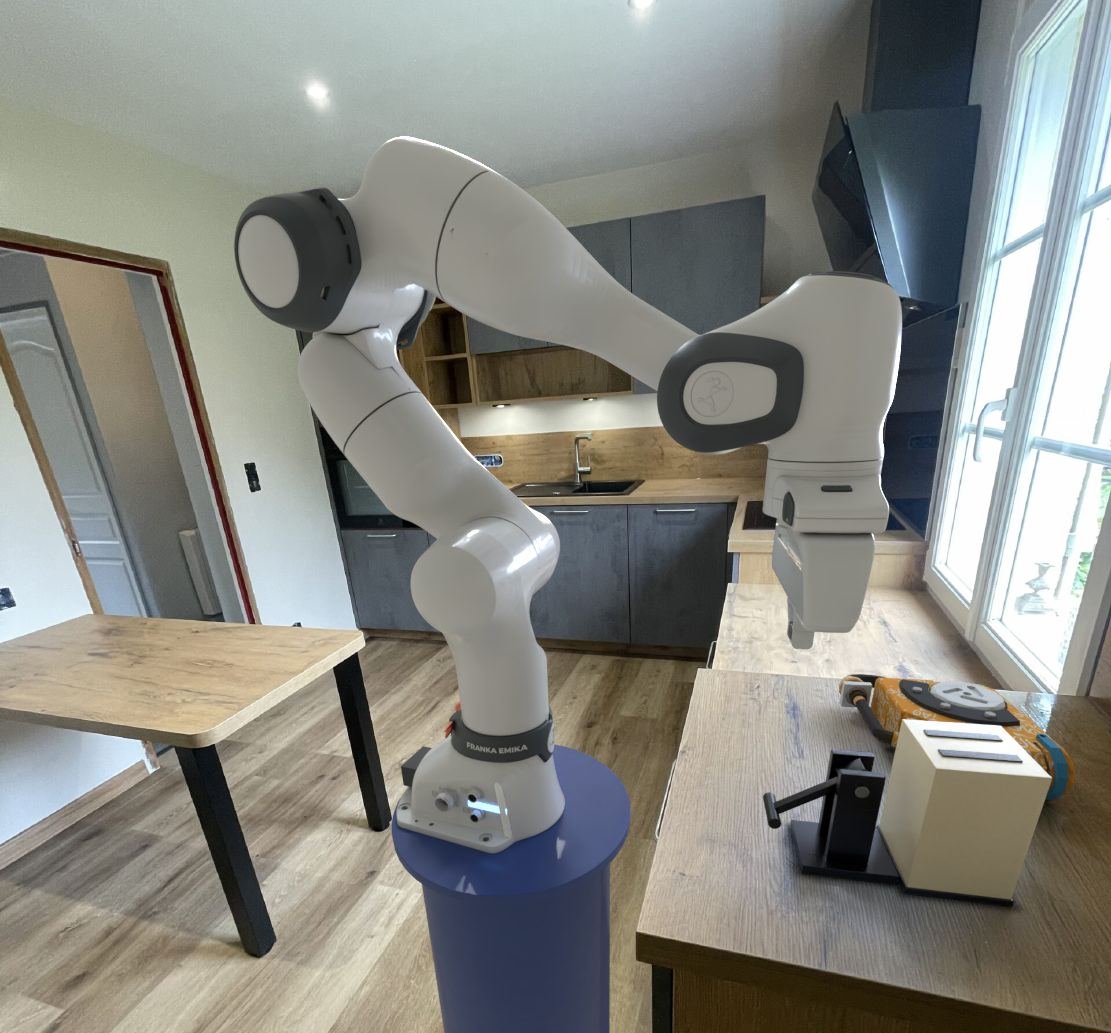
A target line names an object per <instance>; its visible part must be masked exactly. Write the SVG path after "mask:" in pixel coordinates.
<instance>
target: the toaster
mask: <svg viewBox="0 0 1111 1033" xmlns="http://www.w3.org/2000/svg"><path fill="white" fill-rule="evenodd" d="M1051 780H1052V777H1051V776H1050V775H1049V774H1048V773H1047V772H1046V771H1045V770H1044V769H1043V768H1042V767H1041V766H1040V765H1039V764H1038V763H1037V762H1036V761H1035V760H1034V759H1033V758H1032V757H1031V756H1030V755H1029V754H1028V753H1027V752H1026V751H1025V750H1024V749H1023V748H1022V747H1021V746H1020V745H1019V744H1018V743H1017V742H1016V741H1015V740H1014V739H1013V738H1012V737H1011V736H1010V735H1009V734H1008V733H1007V732H1006V731H1005V730H1004V729H1003V728H1002V727H1001V726H997V725H982V724H967V723H952V722H938V721H923V720H908V719H902V723H901V727H900V732H899V737H898V741H897V746H896V749H895V751H894V755H893V759H892V764H891V770H890V774H889V779H888V783H887V788H886V793H885V798H884V802H883V807H882V812H881V815H880V821H879V824H876V827H875V829H878V831H879V833H880V835H881V838H882V840H883V842H884V844H885V846H886V849H887V851H888V853H889V855H890V857H891V860H892V862H893V864H894V866H895V868H896V871H897V873H898V875H899V880H898V883H899V885H900V887H901V889H902V891H903V893H904V894H906V895H913V896H921V897H930V898H938V899H946V900H947V899H948V900H953V901H954V900H955V901H962V902H970V903H978V904H986V905H995V906H1003V907H1013V906H1014V903H1015V900H1014V899H1013V896H1014V893H1015V891H1016V890H1015V889H1016V887H1017V884H1018V882H1019V879H1020V875H1021V872H1022V869H1023V866H1024V863H1025V860H1026V857H1027V854H1028V851H1029V848H1030V845H1031V843H1032V839H1033V837H1034V833H1035V830H1036V827H1037V824H1038V822H1039V818H1040V816H1041V813H1042V809H1043V806H1044V805H1045V801H1046V800H1045V798H1046V795H1047V792H1048V789H1049V786H1050V783H1051Z"/></svg>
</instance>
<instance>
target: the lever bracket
mask: <svg viewBox="0 0 1111 1033" xmlns="http://www.w3.org/2000/svg"><path fill="white" fill-rule="evenodd" d="M858 758H860V760H861V761H862V763H863V765H864V766H865V768H866V769H867V771H857V770H845V769H839V774H838V773H837V771H836V768H837V767H839V766H842V765H844V764H846V763H849V762H851V761H854V760H856V759H858ZM875 759H876V758H875V755H874V753H873V752H871V751H857V750H844V749H833V748H832V749H830V753H829V760H828V766H827V773H826V778H825V781H827V780H830V779H832V778H835V777H837V776H838V780H837V786H836V791H835V792H833V793H830V794H828V795H825V796H823V797H822V801H821V806H820V814H819V818H818V819H819V820H818V822H817V821H806V820H798V819H797V820H796V819H791V820H790V827H789V828H790V832H791V836H792V841H793V845H794V848H795V853H796V856H797V860H798V865H799V868H800V873H801V874H803V875H811V876H820V877H828V878H835V879H837V878H838V879H844V880H852V881H861V882H870V883H878V884H887V885H895V886H898V883H899V875H898V873H897V871H896V868H895V866H894V864H893V862H892V860H891V857H890V855H889V853H888V851H887V849H886V846H885V844H884V842H883V840H882V838H881V835H880V833H879V831H878V829H876V828H877V822H878V818H879V813H880V809H881V808H880V807H881V803H882V798H883V793H884V788H885V784H886V779H887V777H886V776H885V774H884V772H880V771H873V767H874V763H875Z"/></svg>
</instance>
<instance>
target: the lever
mask: <svg viewBox="0 0 1111 1033" xmlns="http://www.w3.org/2000/svg"><path fill="white" fill-rule="evenodd" d="M839 769H845V770H857V771H867V769H866V768H865V766H864V765H863V763H862V761H861V760H860V758H858V759H856V760H854V761H851V762H849V763H846V764H844V765H842V766H839V767H837V768H836V771H837V773H838V774H839ZM837 780H838V776H837V777H835V778H832V779H830V780H827V781H826V780H825V781H823V782H821V783H818V784H815V785H813V786H811V787H808V788H805V789H802V790H801V791H798V792H796V793H793V794H791V795H789V796H787V797H786V796H785V797H783V798H781V799H779V800H777V799H776V795H775V794H774V793H772V792H768V791H767V792H765V793H763V795H762V800H763V806H764V810H765V815H766V822H767V825H768V827H769V828H771V829H772V830H776V829H780V828H781V826H782V820H781V816H780V814H783V813H786V812H788V811H790V810H793V809H796V808H799V807H800V806H803V805H806V804H808V803H810V802H813V801H815V800H818V799H821V798H823V796H825V795H828V794H830V793H833V792H835V791H836V786H837Z"/></svg>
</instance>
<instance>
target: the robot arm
mask: <svg viewBox="0 0 1111 1033" xmlns="http://www.w3.org/2000/svg"><path fill="white" fill-rule="evenodd" d="M233 240H234V241H233V252H234V261H235V266H236V270H237V275H238V277H239V280H240V283H241V285H242V287H243V289H244V291H245V293H246V295H247V297H248V298H249V300H250V302H251V303H252V304H253V305H254V306H255V308H256V309H257V310H258V311H259V312H260V313H261V314H262V315H264V317H266V318H267V319H269V320H271V321H272V322H275V323H276V324H278V325H280V326H283V327H286V328H289V329H293V330H296V331H300V332H305V333H312V336H311V338H312V339H311V340H309V342H308V343H307V344H306V345H305V346H304V348H303V349H302V351H301V353H300V355H299V358H298V360H297V361H298V362H297V367H296V374H297V380H298V384H299V386H300V388H301V390H302V392H303V394H304V396H305V398H306V400H307V402H308V404H309V405H310V407H311V408H312V410H313V412H314V414H315V415H316V417H317V419H318V421H320V423H321V425H322V426H323V428H324V429H325V431H326V433H327V434H328V435H329V437H330V438H331V440H332V441H333V442H334V444H335V445H336V447H337V448H338V449H339V451H340V452H341V453H342V454H343V455H344V457H345V458H346V459H347V460H348V461H349V463H350V464H351V465H352V467H353V468H354V469H355V470H356V472H357V473H358V474H359V475H360V476H361V477H362V479H363V480H364V481H365V483H366V484H367V485H368V486H369V489H371V490H372V492H373V493H374V494H375V495H376V496H377V497H378V499H379V500H380V501H381V502H382V504H383V505H384V506H385V508H386V509H387V510H388V511H389V512H391V513H392V514H393V515H395V516H396V517H398V518H400V519H402V520H405V521H408V522H411V523H412V524H414V525H416V526H418V527H420V528H421V529H423V530H424V531H426V532H427V533H428V534H430V535H431V536H433V537H434V538H435V539H436V540H434V542H433V543H431V545H430V546H428V547H427V549H426V550H425V551H424V552H423V553H422V554H421V555H420V556H419V558H418V559H417V560H416V562H415V563H414V565H413V568H412V570H411V576H410V593H411V597H412V600H413V604H414V606H415V608H416V610H417V611H418V613H419V615H420V616H421V617H422V619H424V620H425V622H426V623H428V624H429V625H430V627H432V628H433V629H435V630H436V631H438V632H441V633H442V635H443V637H444V639H445V641H446V643H447V646H448V648H449V650H450V653H451V655H452V658H453V659H452V660H453V662H454V666H455V671H456V677H457V685H458V694H459V701H458V703H457V704H456V705H455V712H454V713H453V714H451V715H450V717H449V719H448V724H447V725H446V726H445V728H444V730H443V732H444V734H445V735H444V738H443V739H442V740H441V741H439V742H438V743H436V744H435V745H433V746H432V747H429V746H424V745H423V746H421V747H420V748H419V749H418V750H417V751H416V752H414V754H412V755H411V756H410V758H408V759H407V760H406V761H405V762H404V763H403V764H402V765H400V771H401V777H402V784H403V786H404V787H407V788H406V789H405V790H404V791H403V793H404V794H403V793H402V795H401V796H402V797H401V796H400V798H401V799H400V798H399V800H400V801H399V800H398V801H399V804H398V807H397V824H398V826H399V827H401V828H404V829H408V830H411V831H415V832H418V833H422V834H425V835H429V836H432V837H435V838H439V839H442V840H446V841H449V842H453V843H456V844H460V845H463V846H467V847H470V848H474V849H477V850H481V851H484V852H487V853H498V852H501V851H502V850H504V849H506V848H507V847H509V846H510V845H512V844H513V843H514V842H517V841H519V840H522V839H526V838H529V837H532V836H535V835H537V834H539V833H541V832H543V831H545V830H547V829H548V828H550V827H551V826H552V825H553V824H554V823H555V822H556V821H557V820H558V819H559V818H560V816H561V815H562V813H563V810H564V807H565V799H564V795H563V793H562V790H561V788H560V785H559V782H558V778H557V774H556V770H555V765H554V760H553V750H554V744H555V723H554V720H553V719H554V718H553V710H552V708H551V706H550V704H549V680H548V657H547V654H546V652H545V650H544V649H543V647H542V646H540V645H539V644H538V642H537V639H536V636H535V632H534V629H533V626H532V620H531V615H530V614H531V612H530V611H531V609H530V608H531V602H532V598H533V596H534V594H536V593H537V592H538V591H539V590H540V589H541V588H542V587H544V586H545V585H546V584H547V583H548V581H549V580H551V577H552V576H553V574H554V571H555V569H556V566H557V564H558V561H559V557H560V554H561V540H560V535H559V533H558V531H557V529H556V526H555V525H554V524H553V523H552V521H551V520H550V519H549V518H548V517H547V516H545V515H544V514H543V513H541V512H539V511H537V510H535V509H533V508H531V507H530V506H528V505H527V504H526V503H525V502H524V501H522V500H521V499H520V498H519V497H518V496H517V495H516V494H515V493H514V492H513V491H512V490H511V489H509V488H508V487H507V486H506V485H505V484H504V483H503V482H502V481H501V480H499V478H497V477H496V476H495V475H494V474H493V473H491V471H490V470H488V469H487V468H486V467H485V466H484V465H483V464H482V463H481V462H479V461H478V459H477V458H475V457H474V456H473V455H472V453H471V452H470V450H468V449H467V448H466V447H465V446H464V444H463V443H462V442H461V440H459V438H458V437H457V436H456V435H455V433H454V431H453V430H452V429H451V428H450V427H449V425H448V424H447V423H446V422H445V420H444V419H443V418H442V416H440V414H439V413H438V411H437V410H436V409H435V408H434V406H433V405H432V404H431V403H430V401H429V400H428V399H427V397H426V396H425V395H424V393H422V391H421V390H420V388H418V386H417V385H416V384H415V382H414V381H413V380H412V378H410V376H409V374H408V373H407V372H406V371H405V369H404V368H403V366H402V364H401V363H400V360H399V358H398V353H397V351H399V350H404V349H408V348H409V347H411V346H412V345H413V344H414V342H415V341H416V338H417V335H418V332H419V329H420V327H421V326H422V324H423V323H424V322H425V321H426V319H427V318H428V316H429V315H430V313H431V311H432V309H433V306H434V304H435V302H436V298H437V299H440V300H441V301H442V302H444V303H445V304H447V305H448V306H450V307H452V308H453V309H455V310H457V311H458V312H460V313H461V314H463V315H465V316H467V317H469V318H471V319H473V320H474V321H477V322H479V323H481V324H484V325H486V326H488V327H490V328H493V329H496V330H498V331H501V332H505V333H507V334H510V335H514V336H517V337H521V338H526V339H532V340H537V341H542V342H548V343H553V344H558V345H562V346H567V347H571V348H575V349H578V350H582V351H584V352H587V353H590V354H592V355H595V356H596V357H599V358H601V359H603V360H605V361H606V362H608V363H610V364H611V365H613V366H615V367H616V368H618V369H620V370H621V371H623V372H625V373H627V375H630V377H633V378H634V379H635V380H637V381H640V382H641V383H642V384H645V385H646V386H648V387H650V388H651V389H652V390H654V391H656V406H657V407H656V408H657V412H658V413H657V414H658V417H659V420H660V422H661V424H662V426H663V428H664V430H665V431H666V433H667V434H668V436H669V437H670V438H671V439H672V440H673V441H674V442H675V443H677V444H678V445H680V446H682V447H683V448H685V449H688V450H689V451H691V452H694V453H696V454H697V453H698V454H701V455H708V456H715V455H717V456H718V455H725V454H728V453H732V452H735V451H737V450H741V449H743V448H747V447H750V446H754V445H765V446H766V448H767V460H766V470H765V480H764V481H765V482H764V492H763V502H762V513H763V514H764V515H767V516H768V517H772V518H775V519H776V523H775V530H774V536H773V544H772V553H771V569H772V570H773V572H774V575H775V576H776V578H777V580H778V582H779V584H780V586H781V588H782V589H783V591H784V593H785V595H786V603H787V620H788V621H787V629H786V636H787V637H788V639H789V641H790V645H791V647H792V648H793V649H796V650H810V649H812V647H813V644H814V638H815V633H825V634H826V633H827V634H847V633H850V632H851V631H852V630H853V629H854V628H855V626H856V625H857V623H858V621H859V619H860V616H861V613H862V610H863V605H864V602H865V598H866V594H867V590H868V586H869V581H870V577H871V573H872V569H873V564H874V558H875V551H876V540H875V536H874V534H882V533H884V532H885V531H886V529H887V526H888V522H889V515H890V505H889V502H888V500H887V498H886V497H885V494H884V492H883V490H882V477H881V474H882V468H883V462H884V456H885V447H884V443H883V428H884V423H885V419H886V416H887V414H888V412H889V410H890V407H891V406H892V403H893V400H894V397H895V392H896V384H897V379H898V372H899V365H900V358H901V357H900V356H901V345H902V335H903V334H902V333H903V331H902V330H903V312H902V303H901V299H900V296H899V294H898V292H897V291H896V290H895V289H894V287H893V286H892V285H891V284H890V283H889V282H888V281H886V280H885V279H882V278H880V277H877V276H874V275H871V274H866V273H861V272H854V271H841V270H839V271H837V270H829V271H825V272H824V271H819V272H812V273H808V274H807V275H803V276H800V277H799V278H798V279H797V280H795V282H794V283H792V285H791V286H789V288H787V290H785V291H784V292H782V293H781V294H780V295H779V296H777V297H776V298H774V299H772V300H771V301H770V302H768V303H767V304H764V305H763V306H762V307H760V308H759V309H757V310H755V311H753V312H751V313H749V314H748V315H746V316H744V317H741V318H740V319H738V320H735V321H732V322H730V323H728V324H726V325H723V326H720V327H718V328H715V329H713V330H710V331H708V332H705V333H702V334H701V333H698V332H696V331H694V330H692V329H691V328H689V327H687V326H685V325H684V324H682V323H680V322H679V321H678V320H675V319H674V318H673V317H671V316H669V315H668V314H666V313H664V312H663V311H661V310H660V309H657V307H655V306H653V305H651V304H649V303H648V302H646V301H645V300H643V299H641V298H640V297H638V296H636V295H635V294H633V293H632V292H631V291H630V290H628V289H627V288H626V287H624V286H623V285H622V284H621V283H620V282H618V281H617V279H616V278H614V277H613V276H612V275H611V274H610V273H609V272H608V271H607V270H606V269H605V268H604V267H603V266H602V265H601V264H600V262H598V261H597V259H596V258H595V257H593V255H592V254H591V253H590V252H589V251H588V250H587V249H586V247H584V246H583V245H582V243H581V242H580V241H579V240H578V239H577V238H576V237H575V236H574V235H573V234H572V233H571V231H569V230H568V228H566V227H565V225H564V224H562V223H561V221H559V219H558V218H556V216H555V215H554V214H552V212H550V211H549V210H548V209H547V208H546V207H545V206H544V205H543V204H542V203H540V202H539V201H538V200H537V199H536V198H535V197H533V196H532V195H530V193H528V192H527V191H526V190H524V189H523V188H521V187H520V186H519V185H517V184H516V183H515V182H513V181H512V180H510V179H509V178H507V177H505V176H504V175H502V174H500V173H499V172H497V171H495V170H494V169H493V168H491V167H488V166H487V165H485V164H482V162H479V161H477V160H475V159H473V158H471V157H469V156H467V155H464V154H462V153H460V152H458V151H455V150H453V149H450V148H448V147H445V146H442V145H439V144H436V143H435V142H434V143H433V142H430V141H428V140H424V139H420V138H417V137H412V136H398V137H394V138H391V139H389V140H387V141H385V142H384V143H382V144H381V145H380V146H379V147H378V148H377V149H376V150H375V151H374V153H373V154H372V156H371V157H370V158H369V160H368V162H367V164H366V167H365V169H364V172H363V176H362V179H361V183H360V186H359V189H358V191H357V192H356V193H355V194H354V195H352V196H350V197H347V198H338V197H337V196H336V195H335V194H334V193H333V192H332V191H331V190H330V189H329V188H327V187H324V186H320V187H316V188H315V187H314V188H311V189H306V190H301V191H293V192H284V193H278V194H273V195H269V196H264V197H262V198H259V199H256V200H255V201H252V202H251V203H250V204H248V206H246V208H245V209H244V210H243V212H242V213H241V215H240V216H239V218H238V221H237V224H236V227H235V232H234V239H233ZM406 340H407V341H406ZM405 341H406V342H405ZM402 342H404V343H402Z"/></svg>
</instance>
